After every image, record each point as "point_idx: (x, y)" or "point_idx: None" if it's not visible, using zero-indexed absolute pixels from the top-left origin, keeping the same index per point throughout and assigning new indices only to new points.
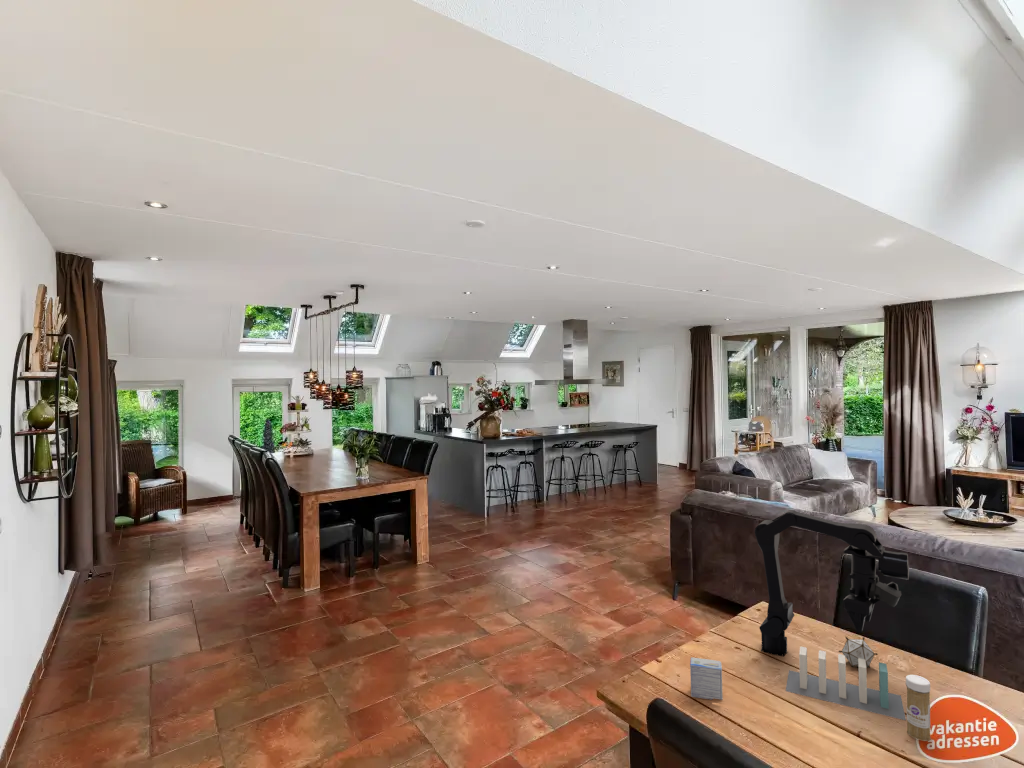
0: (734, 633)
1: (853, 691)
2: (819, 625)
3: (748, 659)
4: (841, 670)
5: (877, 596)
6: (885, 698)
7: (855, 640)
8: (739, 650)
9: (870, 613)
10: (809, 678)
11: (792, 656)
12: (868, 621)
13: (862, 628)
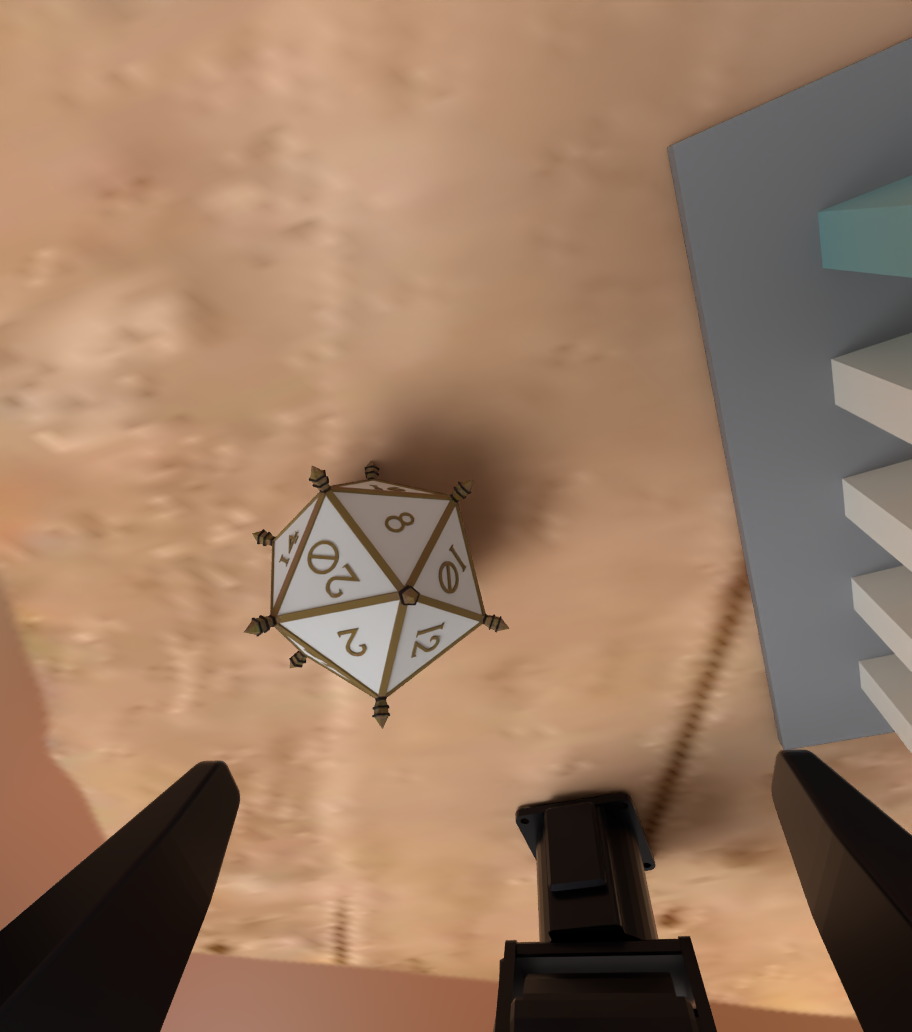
0: None
1: (846, 434)
2: (102, 780)
3: (760, 872)
4: None
5: None
6: None
7: (349, 655)
8: (690, 910)
9: (108, 909)
10: (825, 661)
11: (568, 772)
12: (223, 771)
13: (909, 833)
